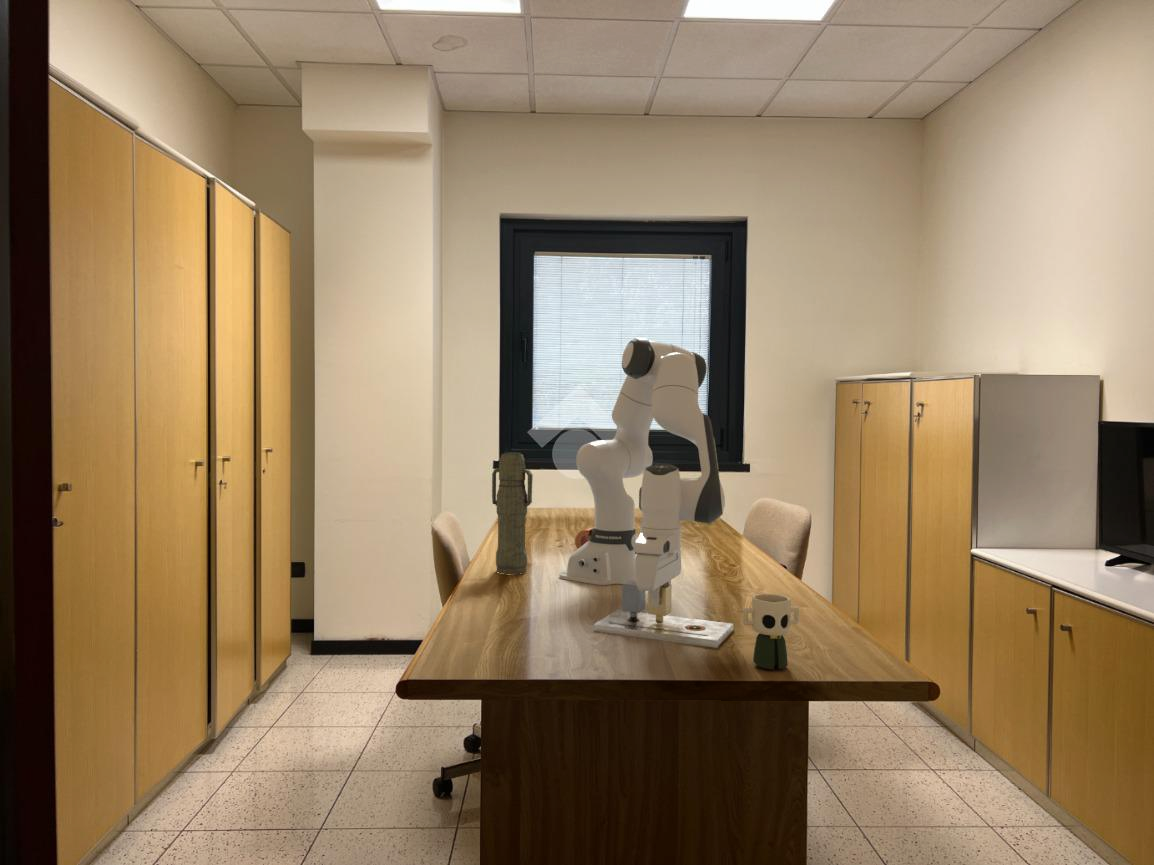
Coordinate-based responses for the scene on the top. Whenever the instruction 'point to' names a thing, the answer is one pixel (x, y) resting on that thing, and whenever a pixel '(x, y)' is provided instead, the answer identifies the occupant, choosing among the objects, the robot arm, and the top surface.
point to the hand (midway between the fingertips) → (659, 603)
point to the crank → (582, 538)
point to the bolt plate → (670, 630)
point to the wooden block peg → (665, 604)
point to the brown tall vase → (511, 512)
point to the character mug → (770, 628)
